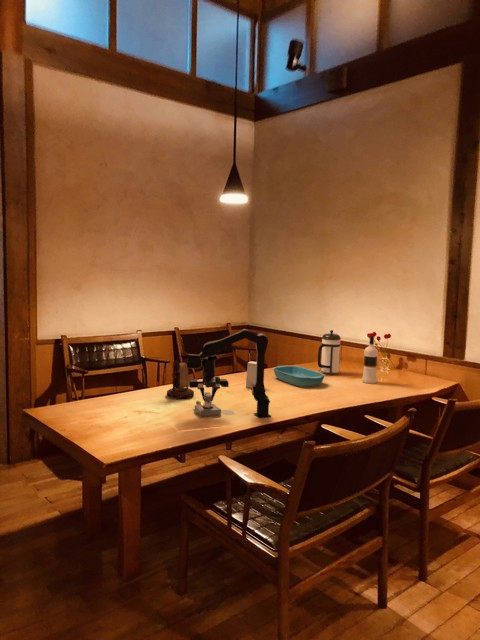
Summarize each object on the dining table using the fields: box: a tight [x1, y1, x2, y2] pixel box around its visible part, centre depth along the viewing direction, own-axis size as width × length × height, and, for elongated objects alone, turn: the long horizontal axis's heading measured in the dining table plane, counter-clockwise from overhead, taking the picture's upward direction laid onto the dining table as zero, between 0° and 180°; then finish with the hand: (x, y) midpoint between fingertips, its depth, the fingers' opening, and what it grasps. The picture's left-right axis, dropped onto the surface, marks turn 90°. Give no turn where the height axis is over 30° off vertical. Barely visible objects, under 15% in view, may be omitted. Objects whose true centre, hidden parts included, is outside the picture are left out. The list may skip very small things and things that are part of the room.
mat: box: [221, 409, 236, 416], centre depth 254 cm, size 8×6×1 cm
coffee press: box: [317, 329, 342, 376], centre depth 353 cm, size 17×16×30 cm
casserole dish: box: [272, 365, 326, 388], centre depth 328 cm, size 37×22×7 cm, turn 32°
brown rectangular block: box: [203, 391, 213, 409], centre depth 250 cm, size 4×8×9 cm, turn 10°
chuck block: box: [192, 400, 222, 418], centre depth 255 cm, size 20×10×4 cm, turn 22°
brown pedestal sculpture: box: [166, 359, 195, 400], centre depth 282 cm, size 15×15×20 cm
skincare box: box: [245, 361, 257, 389], centre depth 309 cm, size 8×6×15 cm
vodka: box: [361, 335, 379, 385], centre depth 331 cm, size 9×9×30 cm
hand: (208, 400), depth 250 cm, fingers closed on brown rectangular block, 3 cm apart
